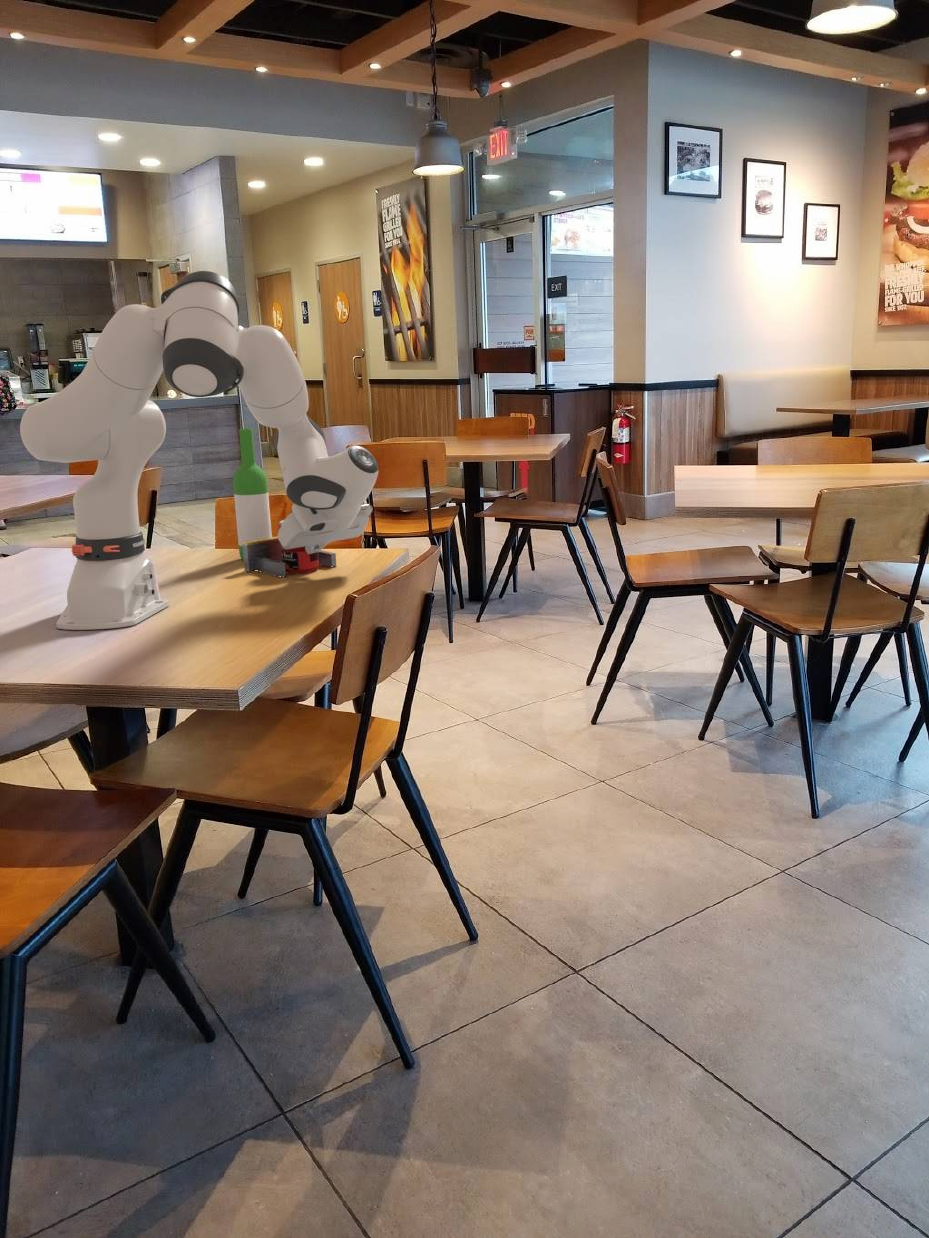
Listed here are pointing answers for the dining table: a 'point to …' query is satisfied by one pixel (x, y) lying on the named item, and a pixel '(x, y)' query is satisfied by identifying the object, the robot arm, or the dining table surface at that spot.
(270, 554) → the loading bay
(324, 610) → the dining table surface
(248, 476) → the wine bottle
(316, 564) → the canned food
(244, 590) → the dining table surface
